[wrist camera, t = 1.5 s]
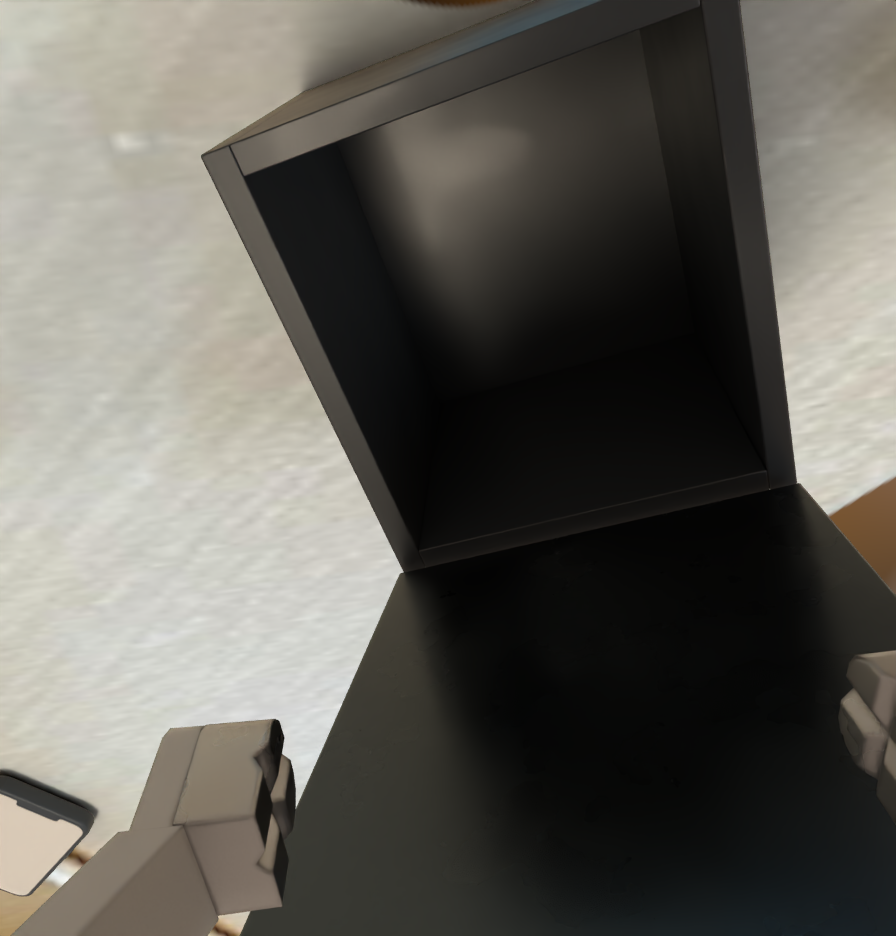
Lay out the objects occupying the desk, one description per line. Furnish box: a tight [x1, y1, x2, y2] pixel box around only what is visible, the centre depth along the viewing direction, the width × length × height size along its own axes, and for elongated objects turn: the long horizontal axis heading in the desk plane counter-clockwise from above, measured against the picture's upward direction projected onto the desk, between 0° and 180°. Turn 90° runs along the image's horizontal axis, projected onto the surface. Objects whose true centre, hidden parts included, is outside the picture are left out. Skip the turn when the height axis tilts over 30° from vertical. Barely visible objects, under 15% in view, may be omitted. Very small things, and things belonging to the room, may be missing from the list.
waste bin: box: [201, 0, 797, 572], centre depth 28 cm, size 16×14×12 cm
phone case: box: [0, 775, 94, 896], centre depth 63 cm, size 9×2×16 cm
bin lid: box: [240, 483, 896, 936], centre depth 20 cm, size 17×14×5 cm
